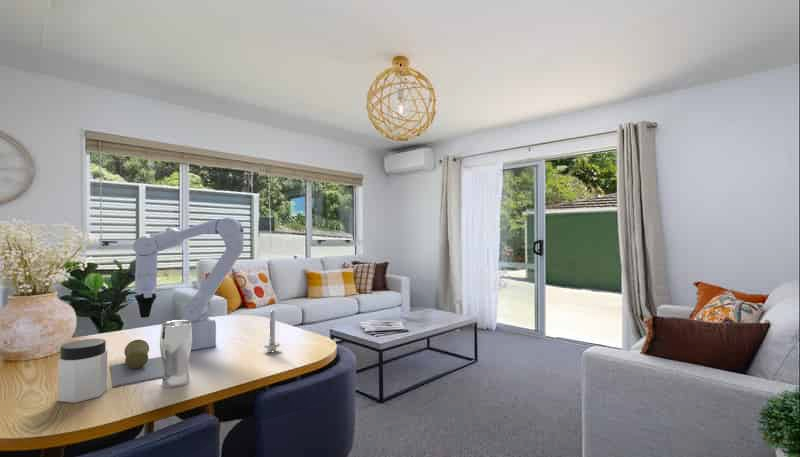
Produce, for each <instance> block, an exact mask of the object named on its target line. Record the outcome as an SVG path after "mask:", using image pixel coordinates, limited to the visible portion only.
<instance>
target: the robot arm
mask: <svg viewBox="0 0 800 457" xmlns="http://www.w3.org/2000/svg"><path fill="white" fill-rule="evenodd" d="M244 233H245V230H244V228H243V225H242V223H241V221H240V220H238V219H236V218H233V217H232V218H231V217H223V218H220V219H219V218H218V219H212V220H208V221H205V222H203V223H199V224H197V225H194V226H190V227H188V228H184V229H182V230H181V229H180V230H179V229H177V228H176V227H175V228H172V227H167V228H165V231H161V232H158V233H155V232H152V233H150V234H149V236H141V237H138V238H137V239H136V240H134V242H133V244H132V248H133V251H134V252H135V275H134V278H135V279H134V288H130V292H131V293H132V292H133V293H134V292H135V293H140V294H135V295H134V298H135V299H136V302H137V305H138V310H139V315H140V318H141V319H144V318H149V317H150V315H151V311H152V307H153V305H154V301H155V300H156V298H157V294H156V293H155V292H156V291H158V287H157V277H158V276H157V274H158V252H161V251H166V250H169V249H172V248H175V247H179V246H181V245H182V244H183V242H184V241H185V240H187V239H191V238H195V237H198V236H203V235H205V234H213V235H214V234H215V235H216V234H217V235H219V236H220V238H222V240H223V242H224V245H225V250H224V252H223V253H222V255H221V256H220V257H219V259H218V261H217V262H216V263H215V265H214V266H213V268H212V269H211V271H210V273H209V274H208V275H207V278H206V279H205V280H204V282H202V285H201V286H200V288H199V289H198V290H197V292H195V294H194V295H193V296H192V298H191V299H190V300H189V301H188V302H185V303H184V304H183V305H182V307H181V310H180V314H181V316H182V318H183V319H182V320H188V321H191V327H192V346H191V351H195V350H201V349H205V348H207V349H208V348H212V347H216V346H217V324H216V323H217V322H216V319H215V317H209V316H208V314H207V312H208V311H209V309H210V303H211V301H212V300H213V297H214V295H215V294H216V292H217V291H218V289H219V288H220V286H221V284H222V283H223V281H225V279H226V277H227V275H228V274H229V272H230V271H231V269H232V268H233V266H234V265H235V264H236V262H237V260H238V259H239V257H240V255H241V254H242V253H243V251H244Z"/></svg>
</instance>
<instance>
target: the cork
mask: <svg viewBox="0 0 800 457" xmlns="http://www.w3.org/2000/svg"><path fill="white" fill-rule="evenodd" d="M148 343H149V342H147V341H146V340H143V339H135V340H132V341H129V343H128V344H127V345H126V346H125V348H124V356H125V359H124V361H125V362H124V363H126V365H127V366H128V367H129V368H132V369H138V368H141V367H142V366H144V365H145V364H146V363H147V361H148V359H149V355H148V353H149V352H150V346H149V344H148Z"/></svg>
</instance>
